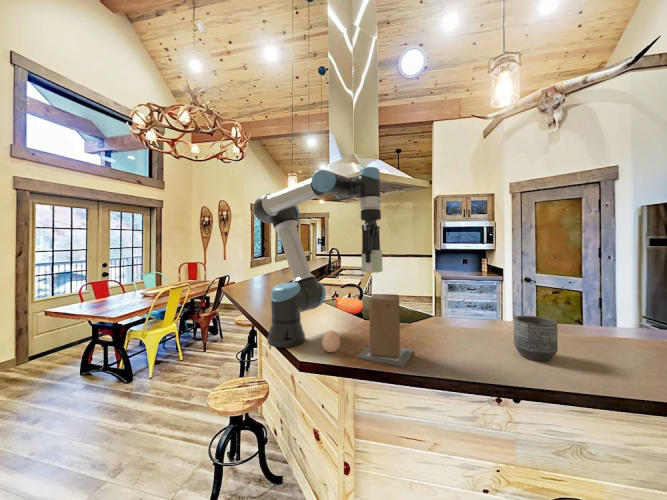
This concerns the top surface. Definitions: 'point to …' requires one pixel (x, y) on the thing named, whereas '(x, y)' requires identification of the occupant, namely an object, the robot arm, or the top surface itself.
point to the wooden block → (384, 325)
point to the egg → (331, 341)
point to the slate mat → (398, 361)
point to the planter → (535, 337)
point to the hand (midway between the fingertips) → (372, 270)
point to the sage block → (374, 261)
